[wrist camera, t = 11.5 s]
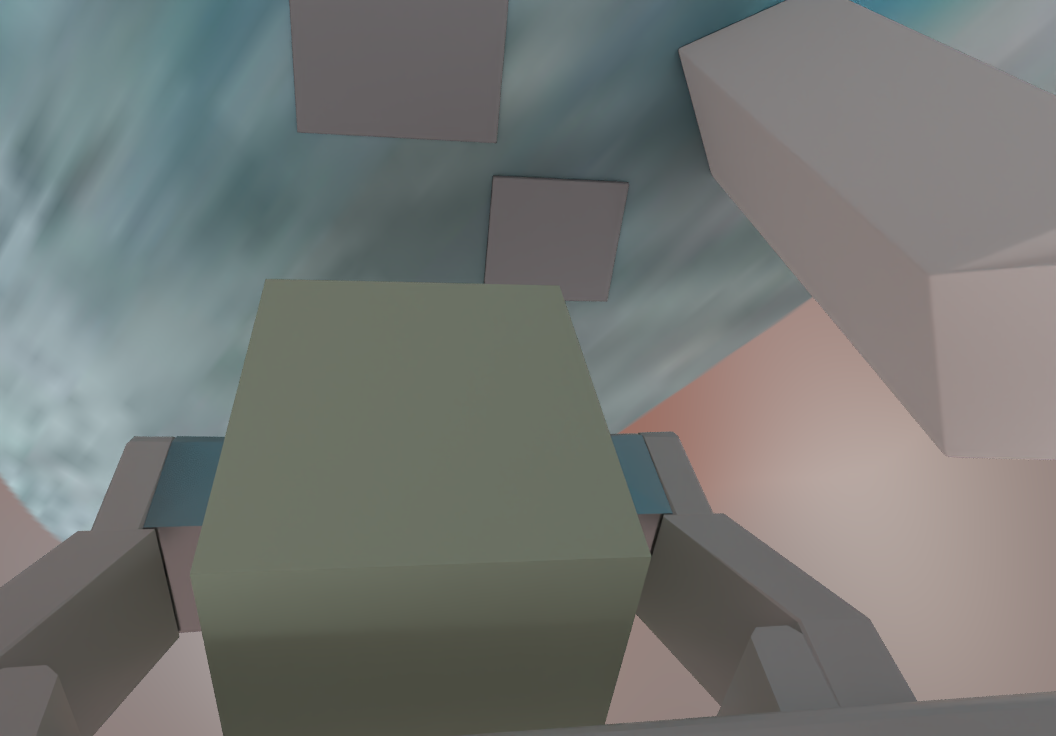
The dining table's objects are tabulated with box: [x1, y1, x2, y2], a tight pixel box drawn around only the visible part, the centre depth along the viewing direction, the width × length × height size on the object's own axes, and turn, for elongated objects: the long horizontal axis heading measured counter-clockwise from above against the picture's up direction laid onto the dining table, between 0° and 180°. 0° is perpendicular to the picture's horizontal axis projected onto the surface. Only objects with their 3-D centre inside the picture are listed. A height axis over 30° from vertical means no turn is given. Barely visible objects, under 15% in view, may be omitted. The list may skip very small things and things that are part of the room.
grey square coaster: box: [484, 176, 629, 301], centre depth 36 cm, size 6×6×1 cm
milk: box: [679, 0, 1056, 460], centre depth 25 cm, size 6×6×22 cm
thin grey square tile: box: [289, 0, 508, 143], centre depth 30 cm, size 8×8×1 cm
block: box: [190, 279, 652, 736], centre depth 10 cm, size 4×4×5 cm
